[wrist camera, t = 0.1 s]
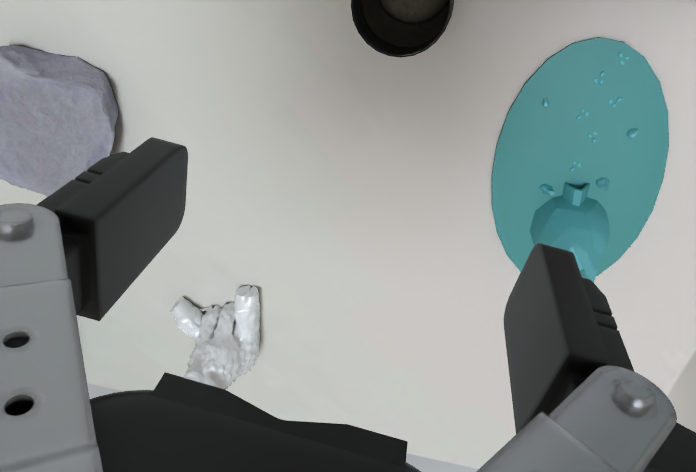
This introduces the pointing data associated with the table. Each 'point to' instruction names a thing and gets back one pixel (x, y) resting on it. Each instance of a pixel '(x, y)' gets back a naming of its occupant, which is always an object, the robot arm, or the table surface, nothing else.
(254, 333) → the sitting furry creature
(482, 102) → the table surface
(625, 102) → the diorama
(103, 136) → the stone block
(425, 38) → the mug
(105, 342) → the table surface
